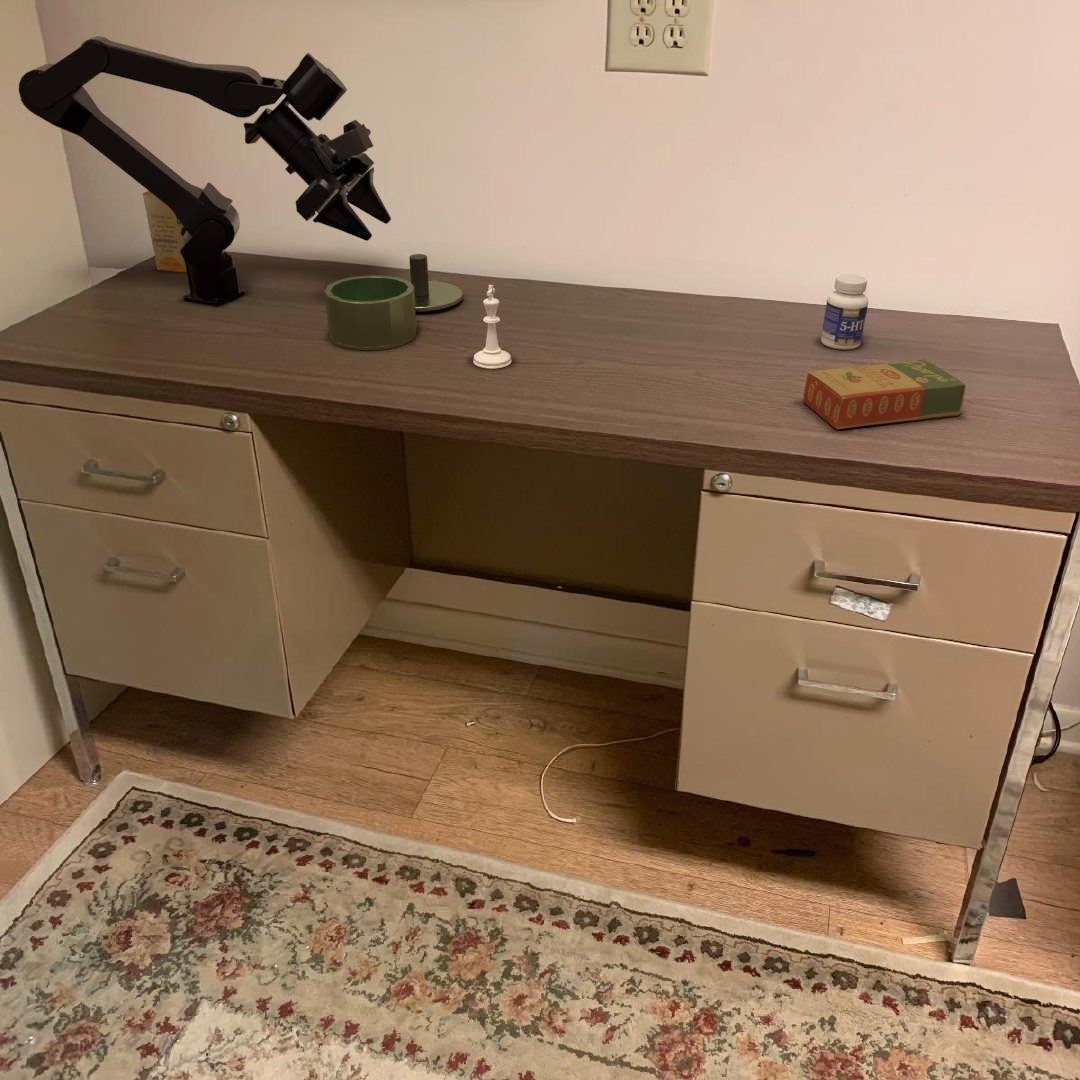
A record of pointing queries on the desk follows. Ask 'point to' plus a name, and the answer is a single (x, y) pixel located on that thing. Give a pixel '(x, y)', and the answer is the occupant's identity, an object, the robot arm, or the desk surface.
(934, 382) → the carton
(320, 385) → the desk surface
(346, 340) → the tin
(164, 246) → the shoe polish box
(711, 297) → the desk surface
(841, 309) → the pill bottle
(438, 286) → the lid
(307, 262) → the desk surface
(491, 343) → the chess piece
